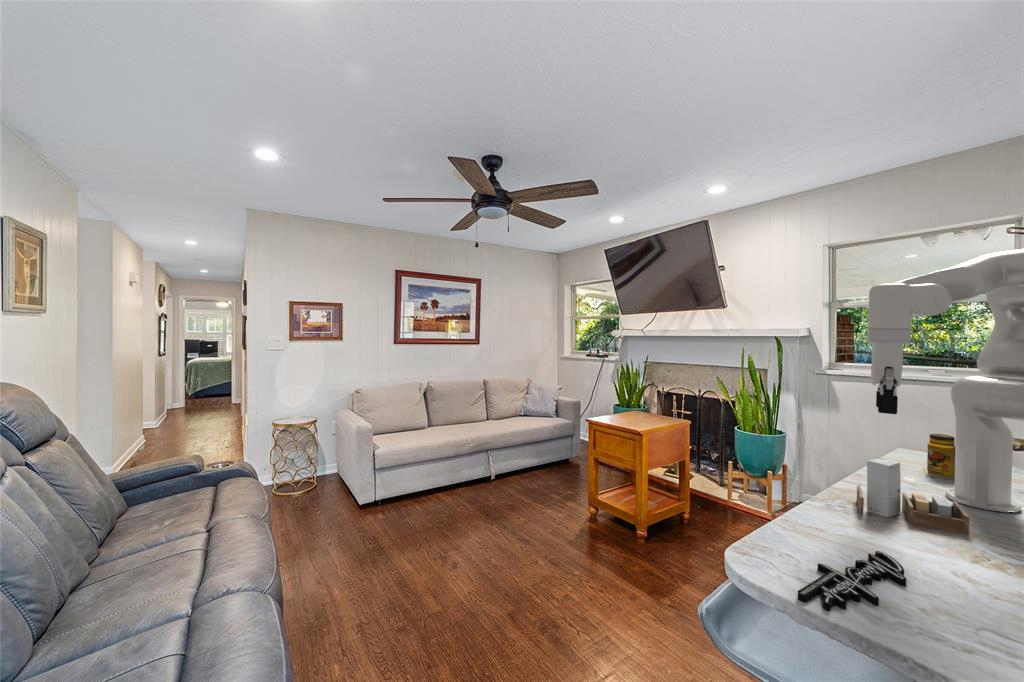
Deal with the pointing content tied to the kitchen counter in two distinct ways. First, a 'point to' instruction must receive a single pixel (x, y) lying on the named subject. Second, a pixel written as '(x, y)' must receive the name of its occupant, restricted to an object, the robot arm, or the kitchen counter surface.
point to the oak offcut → (920, 503)
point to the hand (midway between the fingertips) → (886, 410)
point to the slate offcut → (940, 507)
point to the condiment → (941, 456)
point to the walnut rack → (929, 516)
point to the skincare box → (883, 487)
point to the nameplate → (853, 581)
